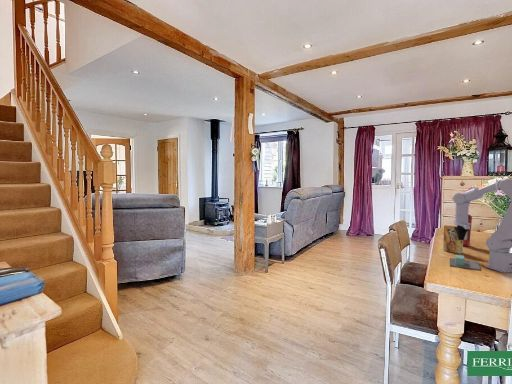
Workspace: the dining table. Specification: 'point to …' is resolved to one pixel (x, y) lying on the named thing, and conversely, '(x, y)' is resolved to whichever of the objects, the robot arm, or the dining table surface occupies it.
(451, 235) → the candy box
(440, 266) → the dining table surface
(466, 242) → the liquor
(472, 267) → the slate board
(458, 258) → the teal block
